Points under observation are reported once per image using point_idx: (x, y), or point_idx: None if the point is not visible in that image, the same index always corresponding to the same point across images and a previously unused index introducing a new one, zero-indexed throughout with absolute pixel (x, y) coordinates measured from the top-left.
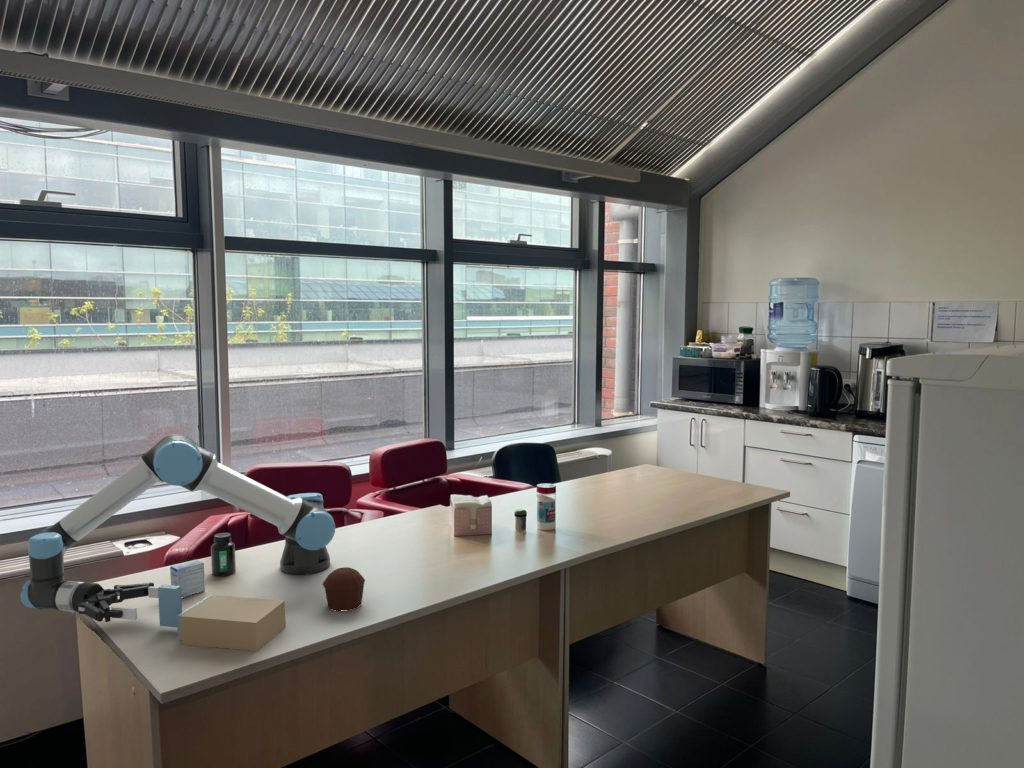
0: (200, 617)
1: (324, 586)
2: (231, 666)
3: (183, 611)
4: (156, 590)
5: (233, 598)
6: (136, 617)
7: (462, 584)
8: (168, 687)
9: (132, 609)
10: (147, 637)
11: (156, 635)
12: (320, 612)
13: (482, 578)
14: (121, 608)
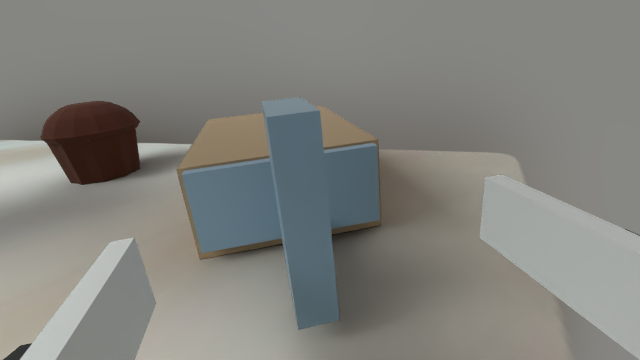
0: (353, 126)
1: (115, 129)
2: (387, 152)
3: (342, 150)
4: (86, 352)
5: (206, 143)
6: (486, 227)
7: (47, 148)
8: (504, 155)
9: (513, 182)
10: (423, 328)
11: (384, 315)
12: (142, 176)
13: (29, 147)
14: (589, 216)
